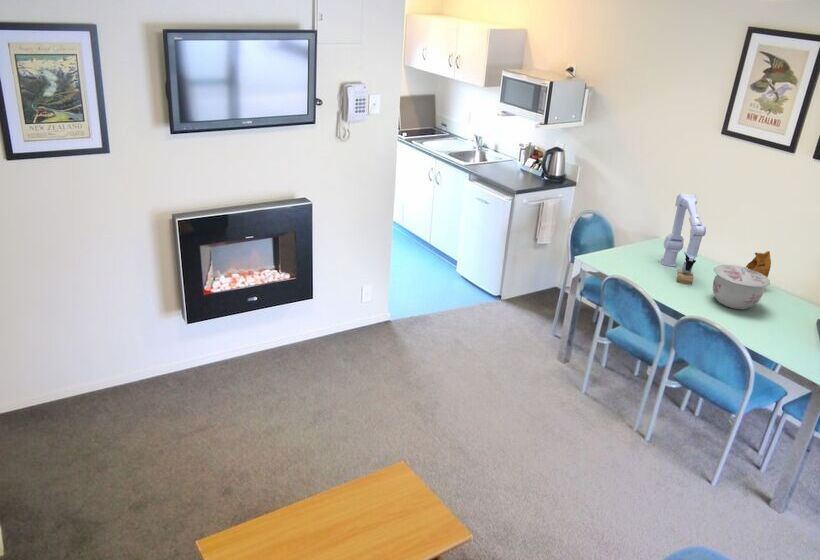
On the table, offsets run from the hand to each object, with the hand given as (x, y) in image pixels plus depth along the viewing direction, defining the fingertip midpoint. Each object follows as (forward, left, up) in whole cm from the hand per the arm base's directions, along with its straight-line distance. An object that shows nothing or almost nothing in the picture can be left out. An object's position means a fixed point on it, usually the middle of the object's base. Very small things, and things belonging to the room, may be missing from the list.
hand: (687, 268), depth 375 cm
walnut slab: (0, 0, -8) cm, 8 cm away
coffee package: (-11, +36, -8) cm, 38 cm away
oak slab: (0, 0, -6) cm, 6 cm away
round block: (0, 0, -2) cm, 2 cm away
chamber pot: (+18, +25, -8) cm, 32 cm away
